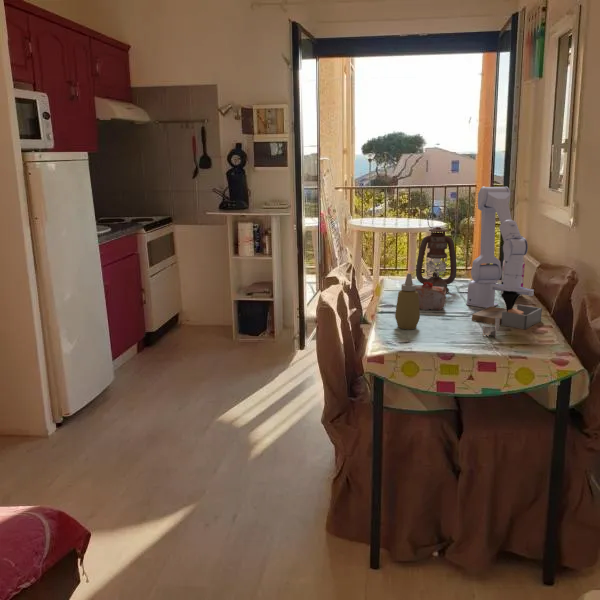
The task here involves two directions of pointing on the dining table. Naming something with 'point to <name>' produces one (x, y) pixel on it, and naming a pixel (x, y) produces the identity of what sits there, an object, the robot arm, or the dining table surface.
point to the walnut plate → (489, 315)
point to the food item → (431, 296)
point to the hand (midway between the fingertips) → (509, 313)
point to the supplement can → (521, 278)
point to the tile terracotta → (515, 311)
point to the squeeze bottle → (407, 305)
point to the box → (522, 317)
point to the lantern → (437, 257)
